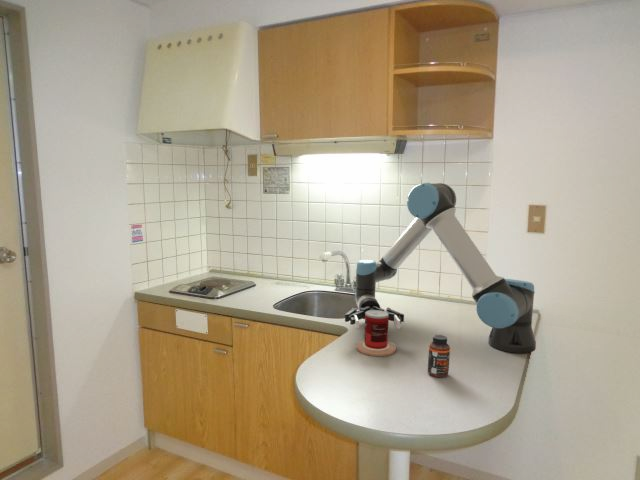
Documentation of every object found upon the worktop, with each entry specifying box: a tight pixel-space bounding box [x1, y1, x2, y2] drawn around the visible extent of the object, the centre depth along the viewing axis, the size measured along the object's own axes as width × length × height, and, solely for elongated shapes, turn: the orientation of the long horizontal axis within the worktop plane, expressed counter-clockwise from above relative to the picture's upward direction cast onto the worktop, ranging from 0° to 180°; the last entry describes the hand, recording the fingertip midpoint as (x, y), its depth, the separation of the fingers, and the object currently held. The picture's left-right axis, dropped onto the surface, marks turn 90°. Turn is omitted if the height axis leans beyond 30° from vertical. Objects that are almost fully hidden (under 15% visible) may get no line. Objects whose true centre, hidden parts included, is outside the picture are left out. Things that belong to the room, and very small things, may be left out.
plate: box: [355, 339, 397, 357], centre depth 156 cm, size 13×13×1 cm
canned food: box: [364, 310, 390, 349], centre depth 155 cm, size 8×8×11 cm
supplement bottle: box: [427, 334, 451, 378], centre depth 136 cm, size 6×6×11 cm
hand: (378, 325), depth 151 cm, fingers open, 13 cm apart
